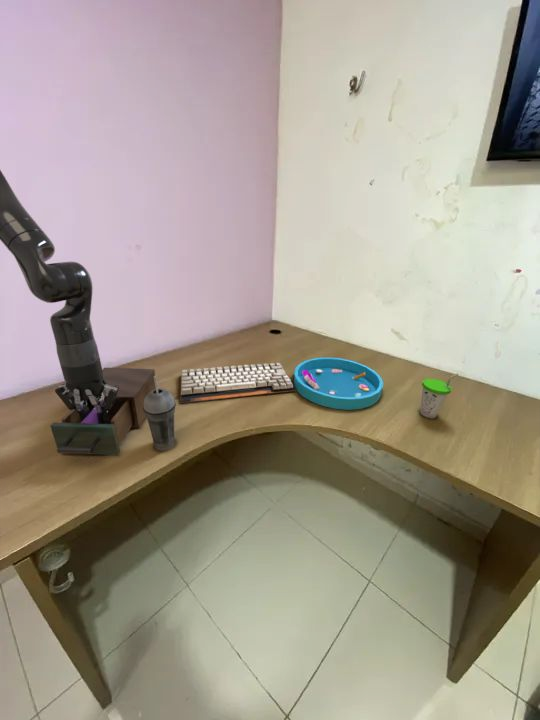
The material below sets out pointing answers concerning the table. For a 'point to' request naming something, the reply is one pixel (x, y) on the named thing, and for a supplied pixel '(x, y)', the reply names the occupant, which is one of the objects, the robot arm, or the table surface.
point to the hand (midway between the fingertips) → (95, 422)
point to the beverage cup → (160, 417)
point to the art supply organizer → (338, 383)
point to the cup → (434, 396)
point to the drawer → (94, 431)
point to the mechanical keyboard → (233, 382)
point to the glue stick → (92, 417)
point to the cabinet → (131, 388)
